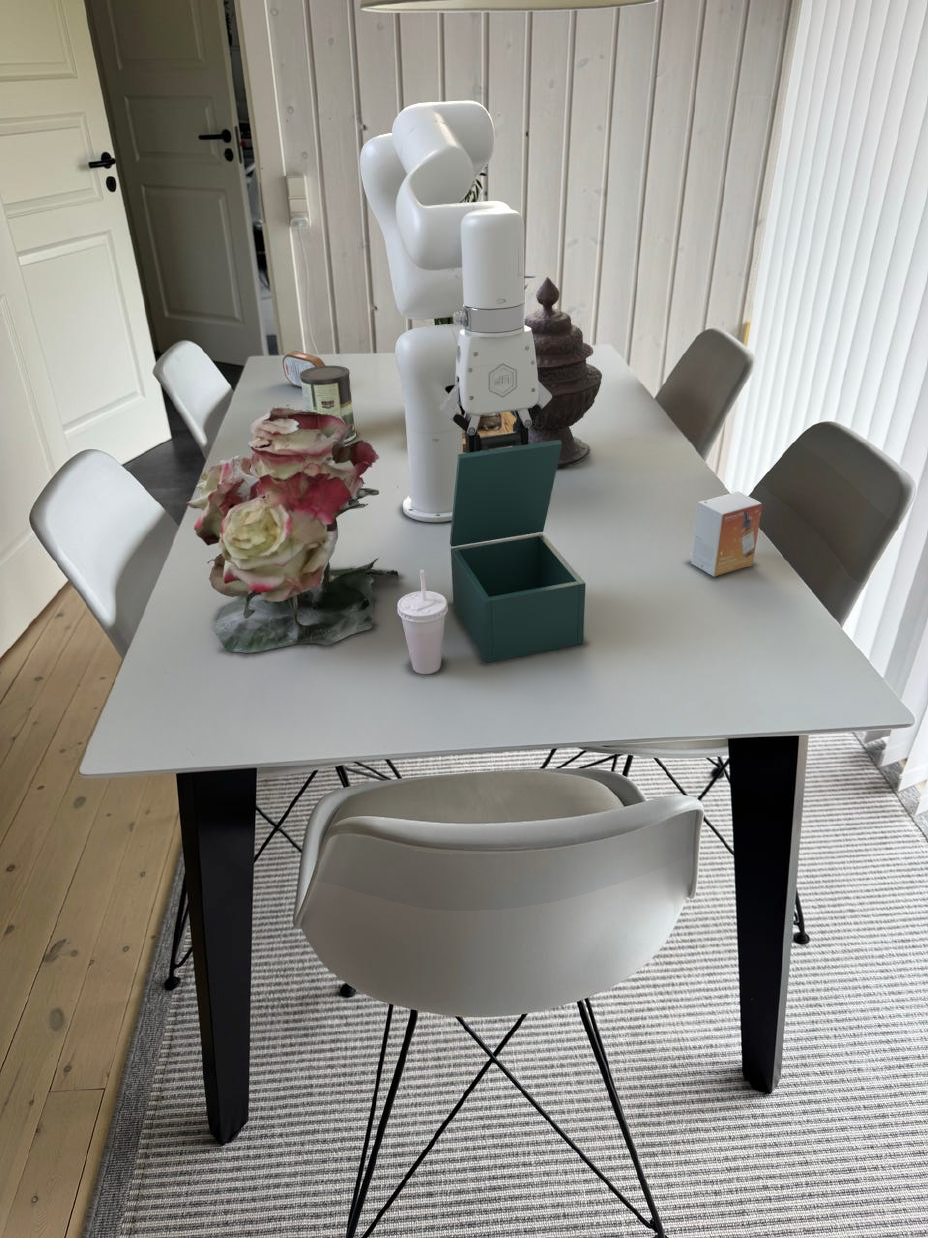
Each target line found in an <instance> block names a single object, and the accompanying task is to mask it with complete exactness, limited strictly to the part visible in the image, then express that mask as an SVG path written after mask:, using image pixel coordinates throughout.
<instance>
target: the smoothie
mask: <svg viewBox="0 0 928 1238" xmlns="http://www.w3.org/2000/svg"><path fill="white" fill-rule="evenodd" d="M419 573H420V575H419V576H420V589H421V590H418V591H413V592H410V593H407V594H405V595H403V596H402V597H400V599H399V600H398V601H397V615H398V616H399V617H400V618H401V623H402V627H403V631H404V636H405V640H406V645H407V649H408V653H409V658H410V662H411V667H412V669H413V671H414V672H416V673H417V674H421V675H430V674H434V673H436V672H438V671H439V670H440V668H441V664H442V653H443V642H444V630H445V621H446V620H445V618H446V614H447V612H448V609H449V606H448V600H447V598H446V597H445V596H444V595H443V594H442V593H439V592H436V591H433V590H432V591H431V590H427V588H426V572H425V569H420V570H419Z"/></svg>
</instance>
